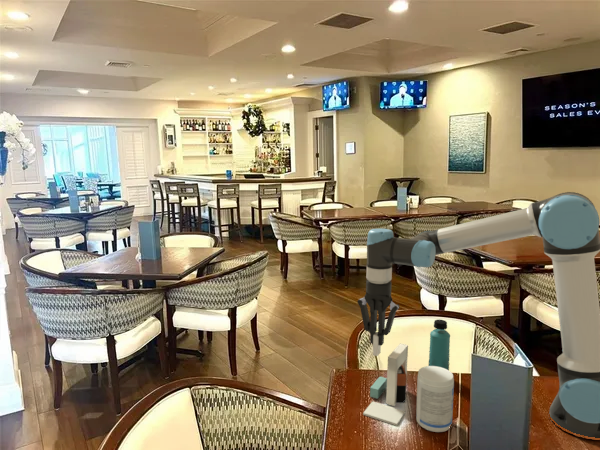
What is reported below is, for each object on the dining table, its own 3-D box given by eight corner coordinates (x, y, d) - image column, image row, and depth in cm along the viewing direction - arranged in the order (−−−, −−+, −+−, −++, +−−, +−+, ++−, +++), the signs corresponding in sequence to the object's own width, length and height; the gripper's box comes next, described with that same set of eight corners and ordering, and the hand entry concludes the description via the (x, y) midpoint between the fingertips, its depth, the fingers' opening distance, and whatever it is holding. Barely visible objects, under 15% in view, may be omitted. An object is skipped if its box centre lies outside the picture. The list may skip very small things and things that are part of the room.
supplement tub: (459, 430, 120) (462, 379, 118) (427, 436, 118) (430, 384, 115) (438, 410, 129) (441, 363, 127) (409, 415, 127) (411, 367, 124)
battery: (401, 391, 140) (402, 361, 138) (405, 403, 133) (407, 372, 132) (387, 391, 140) (388, 361, 138) (391, 403, 133) (392, 371, 132)
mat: (405, 413, 128) (405, 411, 128) (397, 425, 122) (397, 423, 122) (372, 403, 133) (372, 401, 133) (363, 414, 127) (363, 412, 127)
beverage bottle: (451, 383, 144) (454, 324, 141) (430, 383, 145) (433, 324, 141) (445, 373, 151) (448, 317, 148) (425, 373, 151) (428, 317, 148)
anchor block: (386, 387, 142) (387, 378, 142) (377, 398, 135) (378, 389, 135) (379, 385, 143) (379, 376, 143) (370, 396, 137) (370, 387, 136)
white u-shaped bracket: (406, 389, 141) (408, 345, 138) (394, 406, 131) (396, 359, 129) (398, 387, 142) (400, 343, 139) (386, 403, 133) (387, 356, 130)
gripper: (403, 280, 134) (401, 354, 138) (363, 274, 141) (361, 344, 144) (395, 286, 128) (392, 363, 132) (353, 280, 134) (352, 353, 138)
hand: (376, 353), depth 138 cm, fingers closed
